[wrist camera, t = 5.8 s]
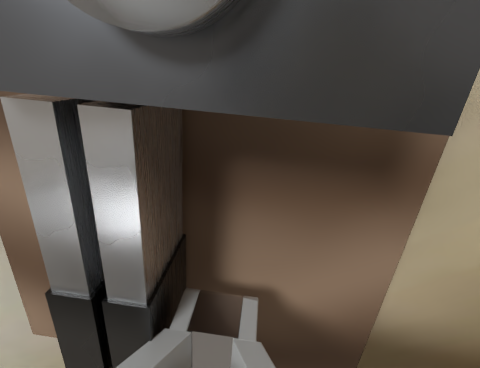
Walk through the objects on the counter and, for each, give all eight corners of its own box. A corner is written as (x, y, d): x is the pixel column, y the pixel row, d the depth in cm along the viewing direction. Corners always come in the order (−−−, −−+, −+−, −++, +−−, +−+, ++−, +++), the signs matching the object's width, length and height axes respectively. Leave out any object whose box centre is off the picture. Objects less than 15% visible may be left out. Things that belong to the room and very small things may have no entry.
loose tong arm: (144, 91, 8) (67, 104, 5) (186, 95, 8) (133, 111, 5) (160, 355, 12) (126, 445, 9) (186, 359, 12) (159, 451, 9)
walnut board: (-111, -315, 6) (-217, -423, 5) (575, -313, 5) (682, -445, 4) (55, 308, 14) (33, 334, 13) (341, 351, 13) (349, 383, 12)
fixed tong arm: (95, 86, 8) (-11, 96, 5) (135, 90, 8) (53, 103, 5) (129, 350, 12) (85, 438, 9) (154, 354, 12) (118, 444, 9)
